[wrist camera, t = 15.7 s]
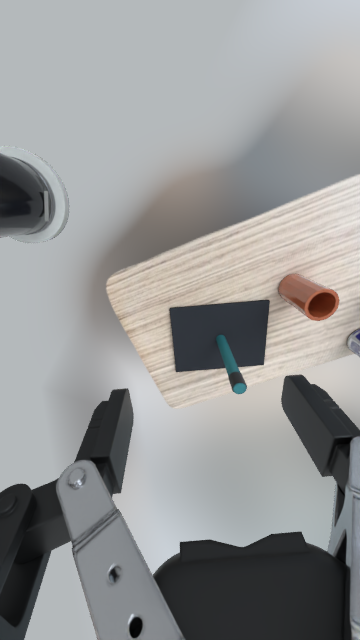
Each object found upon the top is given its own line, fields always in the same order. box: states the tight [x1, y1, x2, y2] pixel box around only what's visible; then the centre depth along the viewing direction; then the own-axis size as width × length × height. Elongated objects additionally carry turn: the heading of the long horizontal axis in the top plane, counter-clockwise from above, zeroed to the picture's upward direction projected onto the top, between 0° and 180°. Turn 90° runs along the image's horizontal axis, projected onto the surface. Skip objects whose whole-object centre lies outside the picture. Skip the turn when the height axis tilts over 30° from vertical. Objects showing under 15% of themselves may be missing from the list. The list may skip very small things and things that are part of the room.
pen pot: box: [279, 274, 339, 321], centre depth 37 cm, size 5×5×9 cm
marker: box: [216, 335, 247, 394], centre depth 38 cm, size 2×2×14 cm
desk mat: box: [170, 300, 270, 372], centre depth 44 cm, size 18×14×1 cm
